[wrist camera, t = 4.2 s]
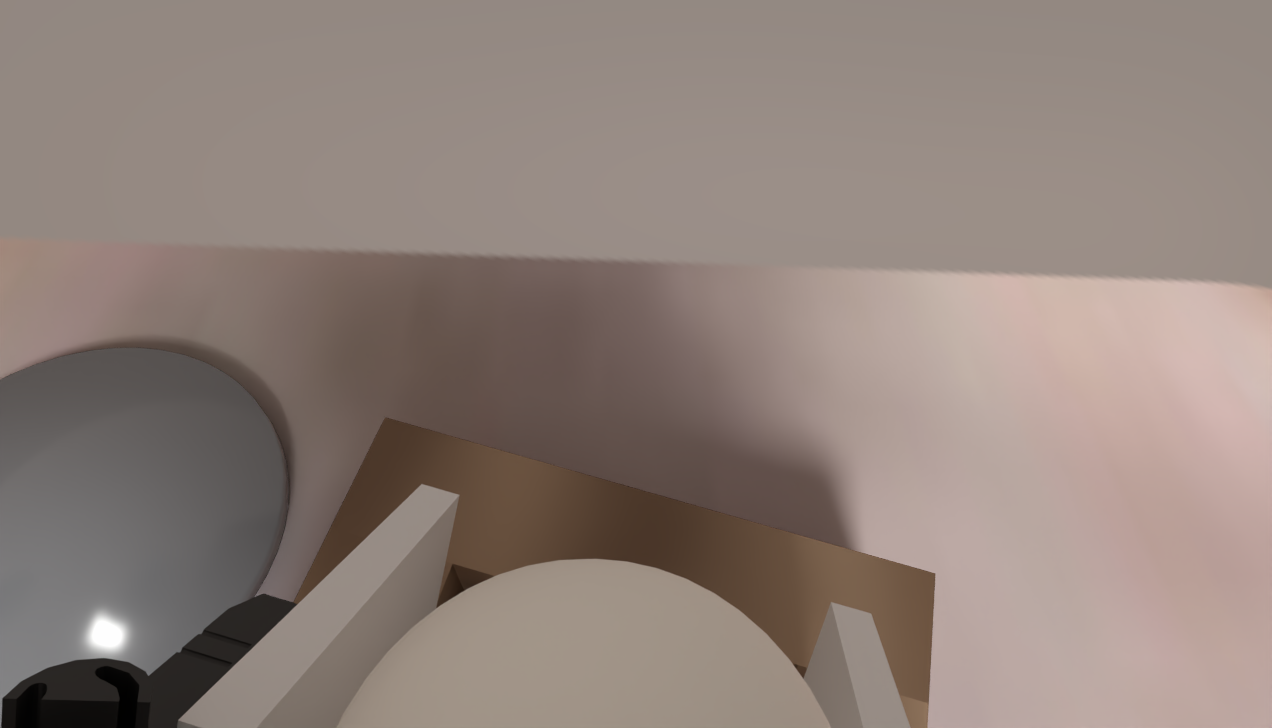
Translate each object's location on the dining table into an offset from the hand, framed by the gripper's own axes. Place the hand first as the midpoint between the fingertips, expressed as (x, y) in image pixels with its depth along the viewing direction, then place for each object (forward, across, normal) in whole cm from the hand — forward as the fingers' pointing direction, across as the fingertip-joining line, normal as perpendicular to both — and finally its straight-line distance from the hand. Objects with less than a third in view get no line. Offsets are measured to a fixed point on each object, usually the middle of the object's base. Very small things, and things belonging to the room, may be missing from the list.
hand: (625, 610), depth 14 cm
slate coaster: (+4, -14, -4) cm, 15 cm away
